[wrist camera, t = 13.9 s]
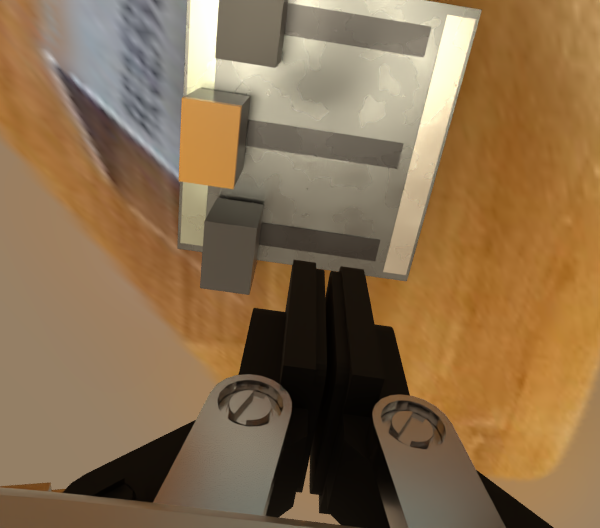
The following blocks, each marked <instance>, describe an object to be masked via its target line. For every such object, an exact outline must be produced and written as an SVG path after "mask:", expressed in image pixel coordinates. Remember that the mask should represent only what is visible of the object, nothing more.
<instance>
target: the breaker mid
mask: <svg viewBox="0 0 600 528" xmlns="http://www.w3.org/2000/svg"><path fill="white" fill-rule="evenodd" d="M249 103H250V96H246V95H240V94H233V93H227V92H220V91H214V90H208V89H201V88H198V89H196V90H195V91H193V92H191V93H189V94H188V95H186V96H184V97H182V109H181V135H180V161H179V181H181V182H188V183H194V184H201V185H208V186H215V187H221V188H228V189H234V187H235V185H236V183H237V181H238V179H239V177H240V174H241V172H242V170H243V164H244V154H245V144H246V133H247V123H248V113H249Z"/></svg>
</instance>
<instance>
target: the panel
mask: <svg viewBox="0 0 600 528" xmlns="http://www.w3.org/2000/svg"><path fill="white" fill-rule="evenodd" d="M218 5H219V0H187V22H186V47H185V72H184V96H186V95H188V94H189V93H191V92H193V91H195V90H196V89H198V88H201V89H208V90H214V91H220V92H227V93H233V94H240V95H246V96H250V103H249V113H248V123H247V133H246V144H245V154H244V164H243V170H242V172H241V174H240V177H239V179H238V181H237V183H236V185H235V187H234V189H228V188H221V187H215V186H208V185H201V184H194V183H188V182H181V181H180V198H179V223H178V249H185V250H192V251H199V252H202V251H203V236H204V221H205V219H206V217H207V215H208V214H209V212H210V210H211V208H212V206H213V204H214V203H215V201H216V199H217V198H223V199H230V200H236V201H243V202H250V203H257V204H263V205H264V206H263V214H262V223H261V231H260V239H259V247H258V256H257V260H261V261H268V262H275V263H282V264H289V265H293V260H301V261H308V262H315V263H316V268H317V269H324V270H331V271H338V272H339V269H340V267H341V266H343V267H350V268H357V269H364V272H365V275H366V276H373V277H380V278H387V279H394V280H401V281H407V278H408V275H409V271H410V268H411V264H412V260H413V257H414V253H415V250H416V246H417V242H418V239H419V235H420V231H421V228H422V224H423V221H424V217H425V213H426V210H427V206H428V203H429V199H430V195H431V192H432V188H433V184H434V181H435V177H436V174H437V170H438V166H439V163H440V159H441V156H442V152H443V148H444V145H445V141H446V137H447V134H448V130H449V127H450V123H451V119H452V116H453V112H454V109H455V105H456V101H457V98H458V94H459V90H460V87H461V83H462V80H463V76H464V72H465V69H466V65H467V62H468V58H469V54H470V51H471V47H472V43H473V40H474V36H475V33H476V29H477V25H478V22H479V18H480V15H481V11H482V10H480V9H474V8H468V7H462V6H456V5H450V4H444V3H438V2H432V1H426V0H288V6H287V15H286V23H285V31H284V40H283V48H282V56H281V62H280V64H279V65H278V66H277V67H276V68H273V67H266V66H260V65H254V64H248V63H241V62H235V61H229V60H223V59H216V58H215V51H216V36H217V21H218Z"/></svg>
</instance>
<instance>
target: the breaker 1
mask: <svg viewBox="0 0 600 528" xmlns="http://www.w3.org/2000/svg"><path fill="white" fill-rule="evenodd" d="M287 6H288V0H219V5H218V21H217V36H216V51H215V58H216V59H223V60H229V61H235V62H241V63H248V64H254V65H260V66H266V67H273V68H276V67H277V66H278V65H279V64H280V62H281V56H282V48H283V40H284V31H285V23H286V15H287Z"/></svg>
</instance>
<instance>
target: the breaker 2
mask: <svg viewBox="0 0 600 528" xmlns="http://www.w3.org/2000/svg"><path fill="white" fill-rule="evenodd" d="M263 206H264V205H263V204H257V203H250V202H243V201H236V200H230V199H223V198H217V199H216V201H215V203H214V204H213V206H212V208H211V210H210V212H209V214H208V215H207V217H206V219H205V221H204V236H203V251H202V267H201V282H200V288H204V289H211V290H218V291H225V292H232V293H239V294H247V295H249V294H250V290H251V286H252V281H253V277H254V273H255V269H256V264H257V256H258V247H259V239H260V231H261V223H262V214H263Z"/></svg>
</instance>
